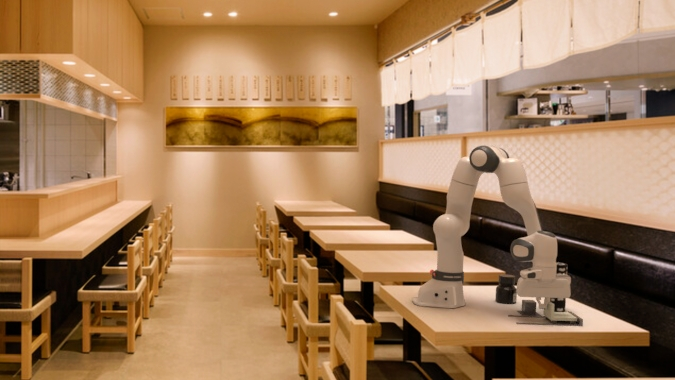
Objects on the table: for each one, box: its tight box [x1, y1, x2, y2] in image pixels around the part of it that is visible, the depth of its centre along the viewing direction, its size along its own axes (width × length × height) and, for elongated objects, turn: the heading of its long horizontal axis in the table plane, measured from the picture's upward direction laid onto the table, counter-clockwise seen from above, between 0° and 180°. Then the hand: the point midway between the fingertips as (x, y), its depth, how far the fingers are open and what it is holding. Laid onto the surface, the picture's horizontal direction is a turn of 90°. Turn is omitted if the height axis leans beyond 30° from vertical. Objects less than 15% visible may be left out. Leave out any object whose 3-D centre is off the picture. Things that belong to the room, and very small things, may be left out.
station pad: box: [516, 310, 542, 316], centre depth 262 cm, size 8×8×1 cm
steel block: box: [521, 299, 537, 315], centre depth 262 cm, size 4×4×5 cm
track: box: [507, 311, 584, 327], centre depth 250 cm, size 25×12×3 cm, turn 90°
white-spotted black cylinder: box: [550, 261, 569, 312], centre depth 269 cm, size 8×8×20 cm
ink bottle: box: [494, 274, 518, 305], centre depth 282 cm, size 10×9×12 cm
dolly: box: [542, 298, 577, 324], centre depth 250 cm, size 10×9×8 cm
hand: (542, 308), depth 250 cm, fingers closed
